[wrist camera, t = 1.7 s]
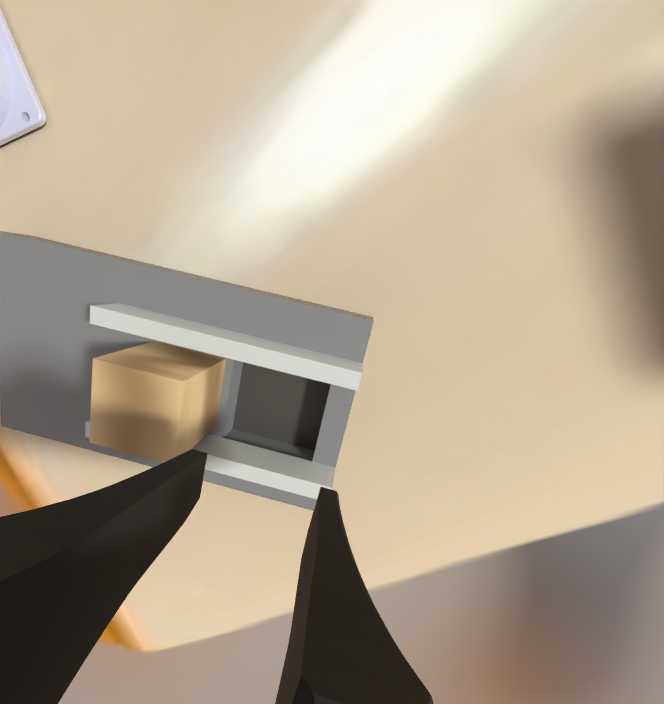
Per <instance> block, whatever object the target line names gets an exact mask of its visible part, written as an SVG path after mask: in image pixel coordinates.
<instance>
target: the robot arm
mask: <svg viewBox="0 0 664 704" xmlns="http://www.w3.org/2000/svg"><path fill="white" fill-rule="evenodd" d="M29 117H30V119H29ZM28 119H29V120H28ZM45 122H46V115H45V112H44V110H43V107H42V105H41V103H40V100H39V98H38V96H37V93H36V91H35V89H34V86H33V84H32V82H31V79H30V77H29V75H28V72H27V70H26V67H25V65H24V63H23V60H22V58H21V56H20V53H19V51H18V49H17V46H16V44H15V42H14V39H13V37H12V35H11V32H10V30H9V28H8V25H7V23H6V21H5V18H4V16H3V13H2V11H1V9H0V146H1V145H3V144H5V143H7V142H9V141H11V140H13V139H15V138H17V137H20V136H22V135H24V134H26V133H28V132H30V131H32V130H34V129H36V128H38V127H41V126H42V125H44V124H45ZM207 454H208V453H205V452H202V451H198V450H195V449H191V450H189V451H187V452H185V453H183V454H180V455H178V456H176V457H174V458H172V459H170V460H168V461H166V462H164V463H162V464H159V465H157V466H155V467H153V468H151V469H149V470H146V471H144V472H142V473H140V474H137V475H135V476H133V477H130V478H128V479H125V480H123V481H120V482H118V483H116V484H113V485H111V486H108V487H105V488H103V489H100V490H97V491H94V492H91V493H88V494H85V495H82V496H79V497H76V498H73V499H70V500H66V501H62V502H59V503H55V504H51V505H48V506H44V507H41V508H37V509H33V510H29V511H25V512H21V513H16V514H12V515H8V516H2V517H0V704H58V702H59V701H60V699H61V697H62V696H63V694H64V693H65V691H66V689H67V688H68V686H69V685H70V683H71V682H72V680H73V678H74V677H75V675H76V674H77V672H78V670H79V669H80V667H81V666H82V664H83V662H84V661H85V659H86V658H87V656H88V655H89V653H90V652H91V650H92V648H93V647H94V645H95V644H96V642H97V641H98V639H99V638H100V636H101V635H102V633H103V631H104V630H105V628H106V627H107V625H108V624H109V622H110V621H111V619H112V618H113V616H114V615H115V613H116V612H117V610H118V609H119V607H120V606H121V604H122V603H123V601H124V600H125V598H126V597H127V595H128V594H129V593H130V591H131V590H132V589H133V587H134V586H135V585H136V583H137V582H138V580H139V579H140V578H141V577H142V575H143V574H144V573H145V572H146V570H147V569H148V568H149V567H150V565H151V564H152V563H153V562H154V560H155V559H156V558H157V556H158V555H159V554H160V553H161V551H162V550H163V549H164V548H165V546H166V545H167V544H168V543H169V541H170V540H171V539H172V538H173V536H174V535H175V534H176V532H177V531H178V530H179V529H180V527H181V526H182V525H183V523H184V522H185V520H186V519H187V517H188V516H189V514H190V513H191V511H192V509H193V508H194V506H195V504H196V503H197V501H198V499H199V498H200V493H201V487H202V482H203V476H204V471H205V465H206V460H207ZM275 704H433V700H432V697H431V695H430V693H429V692H428V690H427V689H426V687H425V686H424V685H423V683H422V682H421V680H420V679H419V678H418V676H417V675H416V673H415V672H414V670H413V669H412V668H411V666H410V665H409V663H408V662H407V661H406V659H405V658H404V656H403V655H402V653H401V651H400V650H399V648H398V647H397V645H396V643H395V642H394V640H393V639H392V637H391V635H390V633H389V631H388V629H387V628H386V626H385V624H384V622H383V620H382V619H381V617H380V615H379V613H378V611H377V609H376V608H375V606H374V604H373V602H372V599H371V598H370V595H369V593H368V591H367V589H366V587H365V584H364V582H363V580H362V578H361V575H360V573H359V570H358V568H357V565H356V562H355V559H354V557H353V554H352V551H351V548H350V545H349V542H348V538H347V535H346V531H345V528H344V524H343V520H342V515H341V511H340V505H339V498H338V493H337V492H336V491H334V490H331V489H327V488H324V487H320V491H319V494H318V498H317V501H316V505H315V508H314V512H313V515H312V519H311V522H310V526H309V529H308V533H307V537H306V542H305V546H304V550H303V554H302V558H301V565H300V572H299V579H298V586H297V593H296V599H295V606H294V613H293V620H292V627H291V633H290V639H289V645H288V649H287V653H286V658H285V662H284V667H283V672H282V676H281V681H280V685H279V690H278V694H277V698H276V703H275Z"/></svg>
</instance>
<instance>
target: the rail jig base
mask: <svg viewBox="0 0 664 704" xmlns="http://www.w3.org/2000/svg"><path fill="white" fill-rule="evenodd" d="M372 325H373V317H369V316H365V315H361V314H357V313H353V312H348V311H344V310H340V309H336V308H332V307H327V306H323V305H319V304H315V303H311V302H306V301H302V300H298V299H294V298H290V297H286V296H281V295H277V294H273V293H269V292H265V291H260V290H256V289H252V288H248V287H244V286H240V285H235V284H231V283H227V282H223V281H219V280H214V279H210V278H206V277H202V276H198V275H193V274H189V273H185V272H181V271H177V270H173V269H168V268H164V267H160V266H156V265H152V264H147V263H143V262H139V261H135V260H131V259H127V258H122V257H118V256H114V255H110V254H106V253H101V252H97V251H93V250H89V249H85V248H80V247H76V246H72V245H68V244H64V243H60V242H55V241H51V240H47V239H43V238H39V237H34V236H30V235H23V234H16V233H9V232H2V231H0V398H1V426H4V427H8V428H12V429H15V430H19V431H23V432H26V433H30V434H34V435H37V436H41V437H45V438H48V439H52V440H56V441H60V442H63V443H67V444H71V445H74V446H78V447H82V448H85V449H89V450H93V451H96V452H100V453H104V454H107V455H111V456H115V457H118V458H122V459H126V460H129V461H133V462H137V463H140V464H144V465H148V466H151V467H155V466H157V465H159V464H162V462H159V461H155V460H151V459H148V458H144V457H140V456H137V455H133V454H129V453H125V452H122V451H118V450H114V449H111V448H107V447H103V446H100V445H96V444H92V443H89V436H90V413H91V390H92V367H93V358H96V357H99V356H103V355H107V354H110V353H114V352H117V351H121V350H125V349H128V348H132V347H135V346H139V345H143V344H146V343H150V342H153V341H158V342H162V343H166V344H170V345H174V346H178V347H182V348H186V349H190V350H194V351H198V352H202V353H206V354H210V355H214V356H218V357H222V358H226V362H225V369H224V375H223V382H222V389H221V395H220V402H219V409H218V415H217V422H216V426H215V427H214V428H213V429H211V430H210V431H209V432H208V433H207V434H206V435H205V436H204V437H203V438H202V439H201V440H200V441H199V442H198V443H197V444H196V445H195V446H194V447H193V448H192V449H195V450H198V451H202V452H205V453H208V454H207V460H206V465H205V471H204V476H203V481H206V482H210V483H214V484H217V485H221V486H225V487H228V488H232V489H236V490H240V491H243V492H247V493H251V494H254V495H258V496H262V497H265V498H269V499H273V500H276V501H280V502H284V503H287V504H291V505H295V506H298V507H302V508H306V509H309V510H313V511H314V508H315V505H316V501H317V498H318V494H319V491H320V487H324V488H327V489H331V490H332V486H333V479H334V473H335V467H336V463H337V459H338V455H339V452H340V448H341V444H342V440H343V436H344V432H345V429H346V425H347V421H348V417H349V413H350V409H351V405H352V402H353V398H354V394H355V390H356V391H358V387H359V384H360V380H361V376H362V364H363V359H364V356H365V352H366V348H367V344H368V340H369V336H370V333H371V329H372Z"/></svg>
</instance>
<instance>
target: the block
mask: <svg viewBox="0 0 664 704" xmlns="http://www.w3.org/2000/svg"><path fill="white" fill-rule="evenodd" d="M225 362H226V358H222V357H218V356H214V355H210V354H206V353H202V352H198V351H194V350H190V349H186V348H182V347H178V346H174V345H170V344H166V343H162V342H158V341H153V342H150V343H146V344H143V345H139V346H135V347H132V348H128V349H125V350H121V351H117V352H114V353H110V354H107V355H103V356H99V357H96V358H93V367H92V390H91V413H90V436H89V443H92V444H96V445H100V446H103V447H107V448H111V449H114V450H118V451H122V452H125V453H129V454H133V455H137V456H140V457H144V458H148V459H151V460H155V461H159V462H162V463H164V462H166V461H168V460H170V459H172V458H174V457H176V456H178V455H180V454H183V453H185V452H187V451H189V450H191V449H192V448H193V447H194V446H195V445H196V444H197V443H198V442H199V441H200V440H201V439H202V438H203V437H204V436H205V435H206V434H207V433H208V432H209V431H210V430H211V429H213V428H214V427H215V426H216V422H217V415H218V409H219V402H220V395H221V389H222V382H223V375H224V369H225Z"/></svg>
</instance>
